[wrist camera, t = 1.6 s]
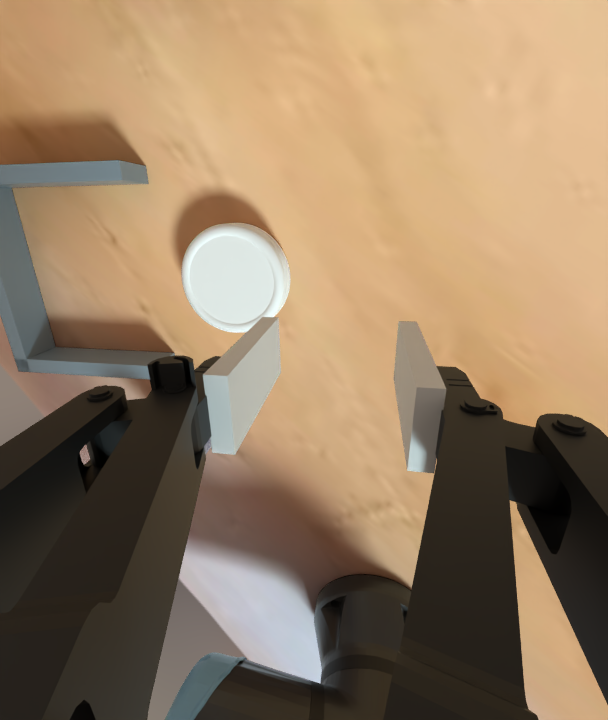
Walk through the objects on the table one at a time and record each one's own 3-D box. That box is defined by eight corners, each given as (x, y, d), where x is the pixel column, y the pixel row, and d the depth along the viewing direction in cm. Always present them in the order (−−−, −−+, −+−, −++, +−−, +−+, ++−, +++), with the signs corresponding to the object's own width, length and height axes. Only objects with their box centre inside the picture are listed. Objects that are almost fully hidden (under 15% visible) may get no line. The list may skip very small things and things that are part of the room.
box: (176, 365, 41) (157, 379, 38) (47, 358, 44) (18, 371, 40) (145, 166, 34) (118, 160, 30) (-7, 171, 37) (-49, 166, 33)
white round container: (187, 226, 36) (169, 227, 32) (287, 218, 34) (278, 219, 31) (204, 325, 39) (189, 335, 36) (295, 323, 38) (288, 333, 34)
